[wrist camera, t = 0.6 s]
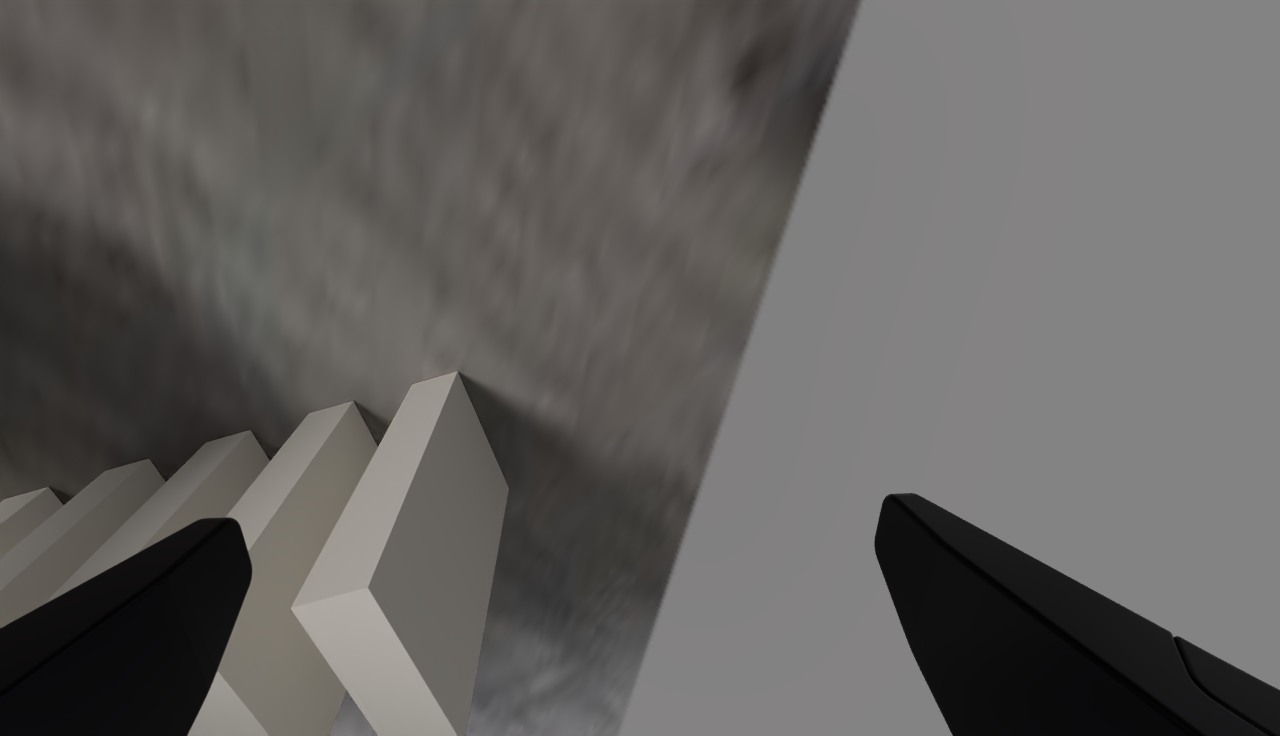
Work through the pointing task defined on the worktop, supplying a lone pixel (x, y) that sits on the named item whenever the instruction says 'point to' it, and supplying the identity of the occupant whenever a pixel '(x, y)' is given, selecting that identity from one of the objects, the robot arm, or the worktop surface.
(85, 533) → the domino
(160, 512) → the domino
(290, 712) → the domino
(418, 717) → the domino
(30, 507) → the domino
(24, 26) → the worktop surface
